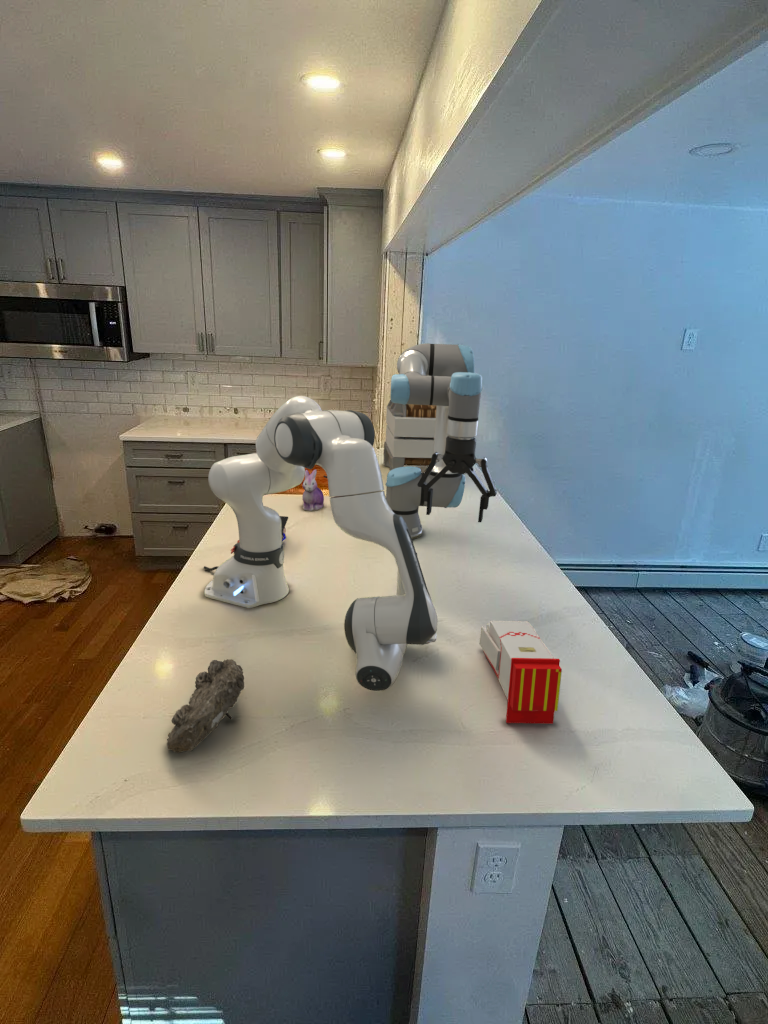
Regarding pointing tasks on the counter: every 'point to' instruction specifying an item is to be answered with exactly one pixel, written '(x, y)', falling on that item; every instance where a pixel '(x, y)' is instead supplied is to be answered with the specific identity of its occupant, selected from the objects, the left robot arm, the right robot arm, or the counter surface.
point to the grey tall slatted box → (409, 435)
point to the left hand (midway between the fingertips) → (398, 607)
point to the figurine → (312, 492)
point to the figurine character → (283, 526)
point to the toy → (523, 670)
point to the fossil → (206, 705)
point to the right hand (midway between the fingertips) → (454, 517)
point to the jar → (399, 585)
